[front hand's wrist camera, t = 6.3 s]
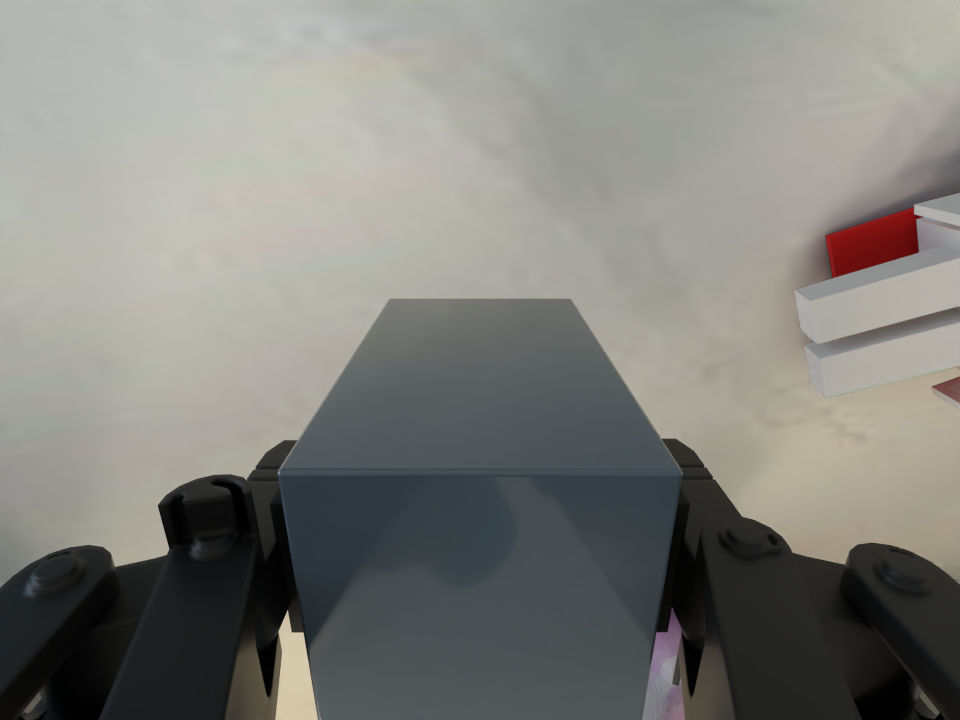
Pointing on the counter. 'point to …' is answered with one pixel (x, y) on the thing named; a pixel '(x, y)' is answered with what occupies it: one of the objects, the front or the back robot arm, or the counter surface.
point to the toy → (887, 303)
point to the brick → (480, 521)
